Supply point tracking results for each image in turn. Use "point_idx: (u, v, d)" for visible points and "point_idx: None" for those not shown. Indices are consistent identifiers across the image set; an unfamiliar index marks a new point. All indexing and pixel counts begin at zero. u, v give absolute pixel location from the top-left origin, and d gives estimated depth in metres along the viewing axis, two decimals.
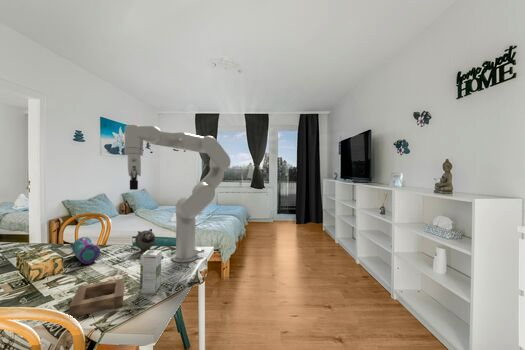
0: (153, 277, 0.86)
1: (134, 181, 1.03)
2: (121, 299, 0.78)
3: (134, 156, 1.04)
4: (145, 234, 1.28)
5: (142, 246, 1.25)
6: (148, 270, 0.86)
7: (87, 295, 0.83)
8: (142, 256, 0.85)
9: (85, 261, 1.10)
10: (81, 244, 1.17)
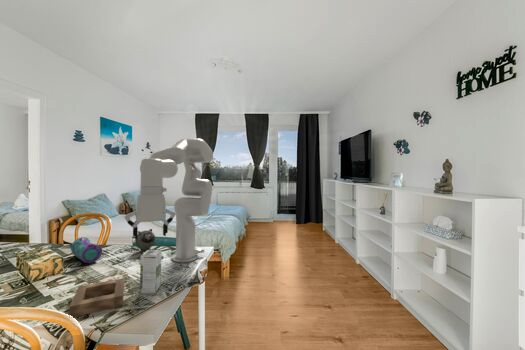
0: (153, 277, 0.86)
1: None
2: (121, 299, 0.78)
3: None
4: (145, 234, 1.28)
5: (142, 246, 1.25)
6: (148, 270, 0.86)
7: (87, 295, 0.83)
8: (142, 256, 0.85)
9: (88, 260, 1.11)
10: (81, 244, 1.17)
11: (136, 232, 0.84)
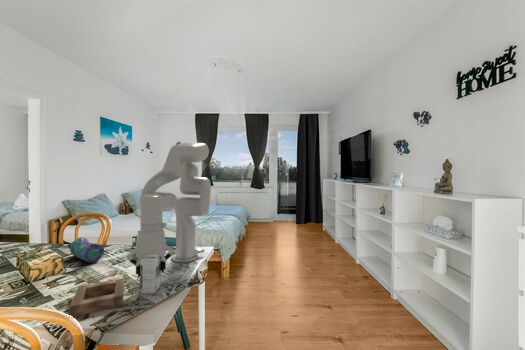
0: (153, 277, 0.86)
1: None
2: (121, 299, 0.78)
3: None
4: None
5: None
6: (148, 270, 0.86)
7: (87, 295, 0.83)
8: None
9: (91, 260, 1.12)
10: (82, 244, 1.17)
11: (139, 271, 0.85)
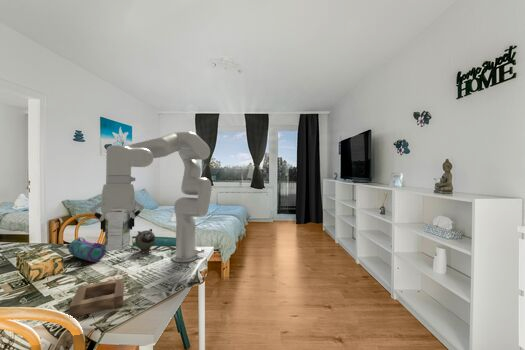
0: (120, 233, 0.80)
1: None
2: (121, 299, 0.78)
3: None
4: (145, 234, 1.28)
5: (142, 246, 1.25)
6: (114, 225, 0.80)
7: (87, 295, 0.83)
8: None
9: (94, 259, 1.13)
10: (82, 244, 1.17)
11: (104, 225, 0.79)
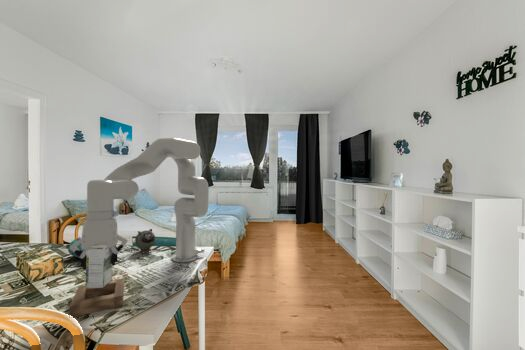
0: (101, 270, 0.78)
1: None
2: (121, 299, 0.78)
3: None
4: (145, 234, 1.28)
5: (142, 246, 1.25)
6: (95, 263, 0.78)
7: (87, 295, 0.83)
8: None
9: None
10: None
11: (84, 263, 0.77)
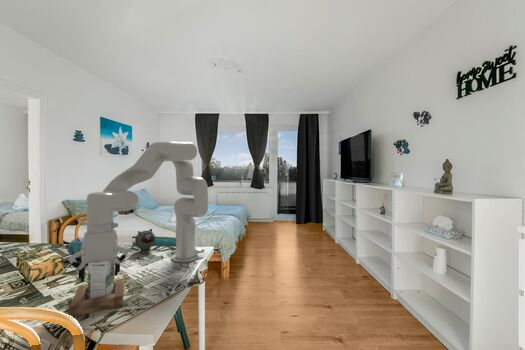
0: (103, 287, 0.78)
1: (119, 263, 0.84)
2: (121, 299, 0.78)
3: (115, 232, 0.83)
4: (145, 234, 1.28)
5: (142, 246, 1.25)
6: (97, 279, 0.78)
7: (87, 295, 0.83)
8: (90, 264, 0.78)
9: None
10: None
11: (82, 274, 0.77)
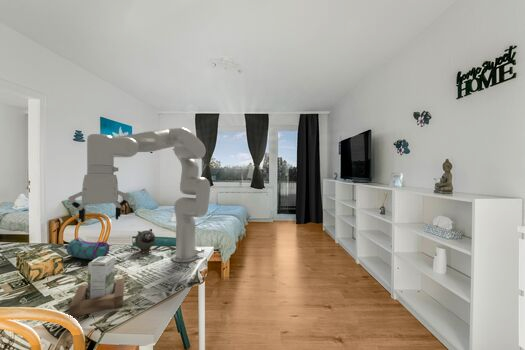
0: (103, 287, 0.78)
1: (120, 208, 0.83)
2: (121, 299, 0.78)
3: (116, 177, 0.82)
4: (145, 234, 1.28)
5: (142, 246, 1.25)
6: (97, 279, 0.78)
7: (87, 295, 0.83)
8: (90, 264, 0.78)
9: None
10: (84, 244, 1.18)
11: (82, 215, 0.77)
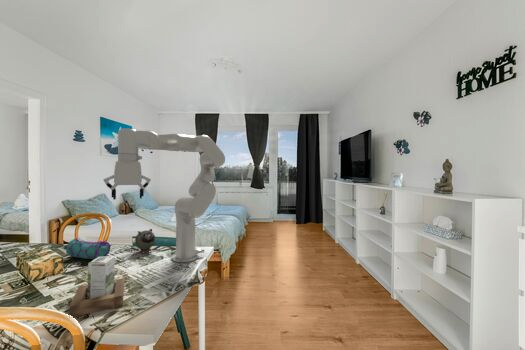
0: (103, 287, 0.78)
1: None
2: (121, 299, 0.78)
3: (140, 164, 1.01)
4: (145, 234, 1.28)
5: (142, 246, 1.25)
6: (97, 279, 0.78)
7: (87, 295, 0.83)
8: (90, 264, 0.78)
9: None
10: (84, 244, 1.18)
11: (114, 193, 0.95)
